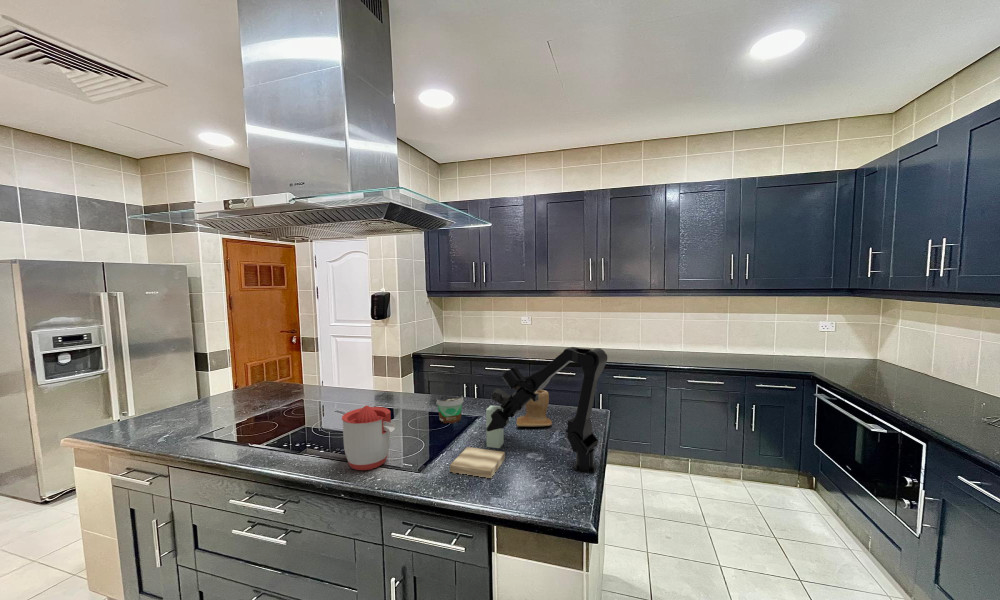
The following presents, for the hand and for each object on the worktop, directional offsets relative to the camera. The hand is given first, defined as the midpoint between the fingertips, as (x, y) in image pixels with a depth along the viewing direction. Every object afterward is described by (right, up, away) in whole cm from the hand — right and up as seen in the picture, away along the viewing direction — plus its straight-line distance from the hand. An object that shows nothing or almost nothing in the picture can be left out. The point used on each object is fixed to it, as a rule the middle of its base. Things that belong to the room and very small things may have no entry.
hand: (491, 425), depth 143 cm
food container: (-18, -6, +24) cm, 31 cm away
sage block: (+1, -7, 0) cm, 7 cm away
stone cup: (+18, -6, +20) cm, 27 cm away
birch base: (-4, -8, -16) cm, 18 cm away
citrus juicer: (-41, -9, -13) cm, 44 cm away
